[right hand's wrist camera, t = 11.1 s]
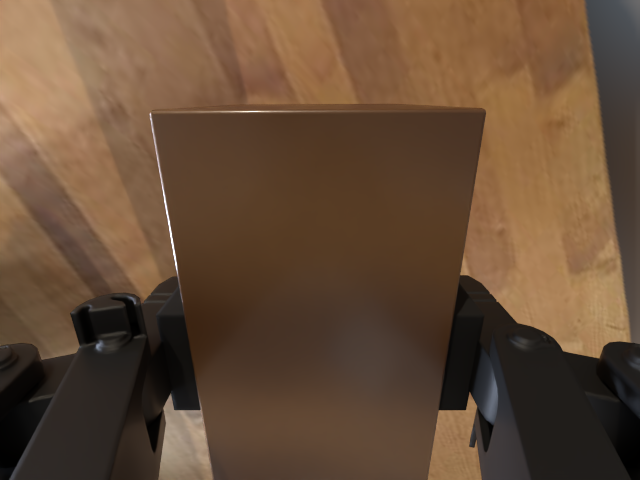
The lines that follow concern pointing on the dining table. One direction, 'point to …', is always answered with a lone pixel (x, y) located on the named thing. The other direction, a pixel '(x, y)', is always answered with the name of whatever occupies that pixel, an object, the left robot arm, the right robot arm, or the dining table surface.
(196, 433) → the dining table surface
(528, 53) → the dining table surface
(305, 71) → the dining table surface
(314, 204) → the post
